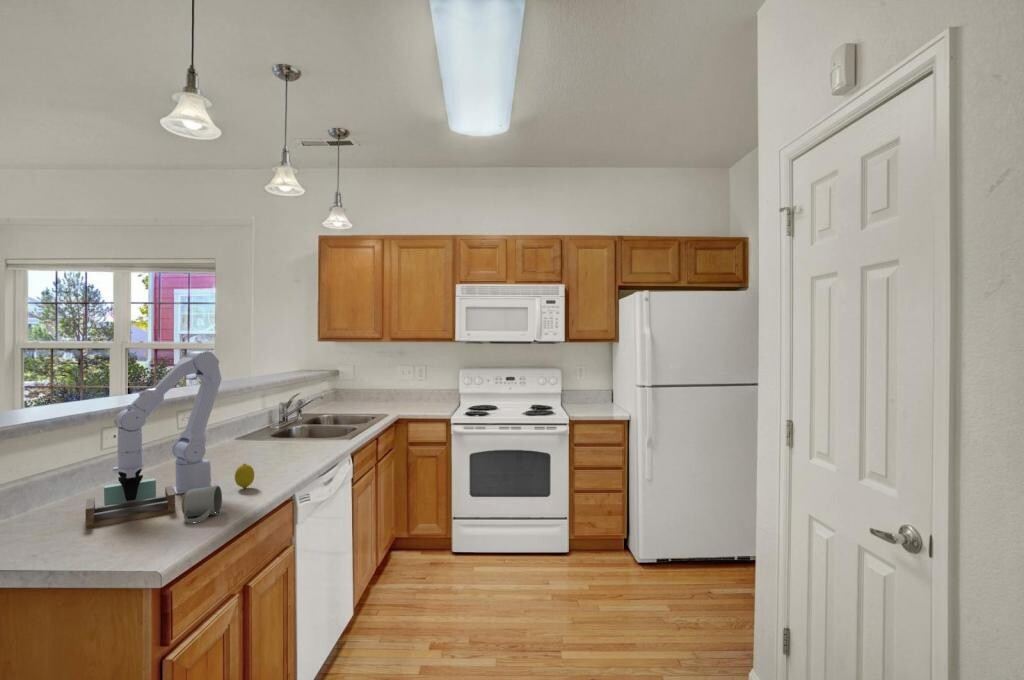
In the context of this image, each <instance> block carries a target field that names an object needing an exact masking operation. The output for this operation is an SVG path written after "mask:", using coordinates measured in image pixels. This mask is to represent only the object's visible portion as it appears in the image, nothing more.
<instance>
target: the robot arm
mask: <svg viewBox="0 0 1024 680" xmlns="http://www.w3.org/2000/svg"><path fill="white" fill-rule="evenodd" d="M219 364H220V361H219V359H218V358H217V356H216V355H215V354H214V353H213V352H211V351H208V350H207V351H206V350H205V351H199V350H191V351H189V352H188V353H186V354H185V356H184V357H181V358H180V359H179V360H178V361H177V363H175V364H174V366H173V367H172V368H171V369H170V370H169V371H168V372H167V374H165V375H164V377H163V378H162V379H160V381H159V382H158V383H157V384H156V385H155V386H154V387H153V388H146V389H145V390H140V391H139V393H138V395H139V396H138V397H137V398H136V399H134V400H133V401H132V402H131V404H127V405H126V406H125V409H124V410H121V411H120V412H119V413H117V415H116V416H115V419H114V420H113V422H114V423H113V424H114V425H115V426H116V427H117V466H115V467H114V466H113V467H112V471H113V472H117V474H118V475H119V477H118V482H119V483H121V485H122V487H123V490H124V494H125V498H126V501H131V500H135V499H136V496H137V491H138V486H139V483H140V481H141V480H143V477H144V475H143V474H141V472H142V469H143V468H144V464H143V433H142V431H143V430H142V427H144V425H145V424H146V421H147V420H146V418H148V417H149V416H151V414H152V413H153V412H154V411H155V410H156V409H157V408H158V407H159V406H160V405H161V404H162V403H163V402H164V401H165V394H167V392H169V391H170V390H171V389H172V388H173V387H174V386H175V385H176V384H177V383H179V382H180V381H182V379H183V378H184V377H186V376H188V375H194V374H195V375H196V377H197V378H198V379H199V381H200V385H199V388H198V392H197V394H196V397H195V400H194V403H193V406H192V409H191V413H190V415H189V418H188V421H187V423H186V427H185V429H184V431H182V433H181V434H180V436H179V438H178V440H177V441H176V442H175V443H174V444H173V446H172V455H174V457H175V458H176V459H175V486H172V487H173V490H174V493H175V495H181V494H185V493H186V492H187V491H188V490H192V489H197V488H204V487H211V486H212V484H211V483H212V478H211V475H212V474H211V473H212V471H211V461H210V459H209V458H207V459H206V458H205V459H204V456H205V455H206V441H207V438H206V434H205V432H206V429H207V425H208V422H209V419H210V416H211V413H212V410H213V408H214V407H213V406H214V404H215V400H216V398H217V394H218V392H219V389H220V385H221V382H222V376H221V375H222V374H221V371H220V366H219Z"/></svg>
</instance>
